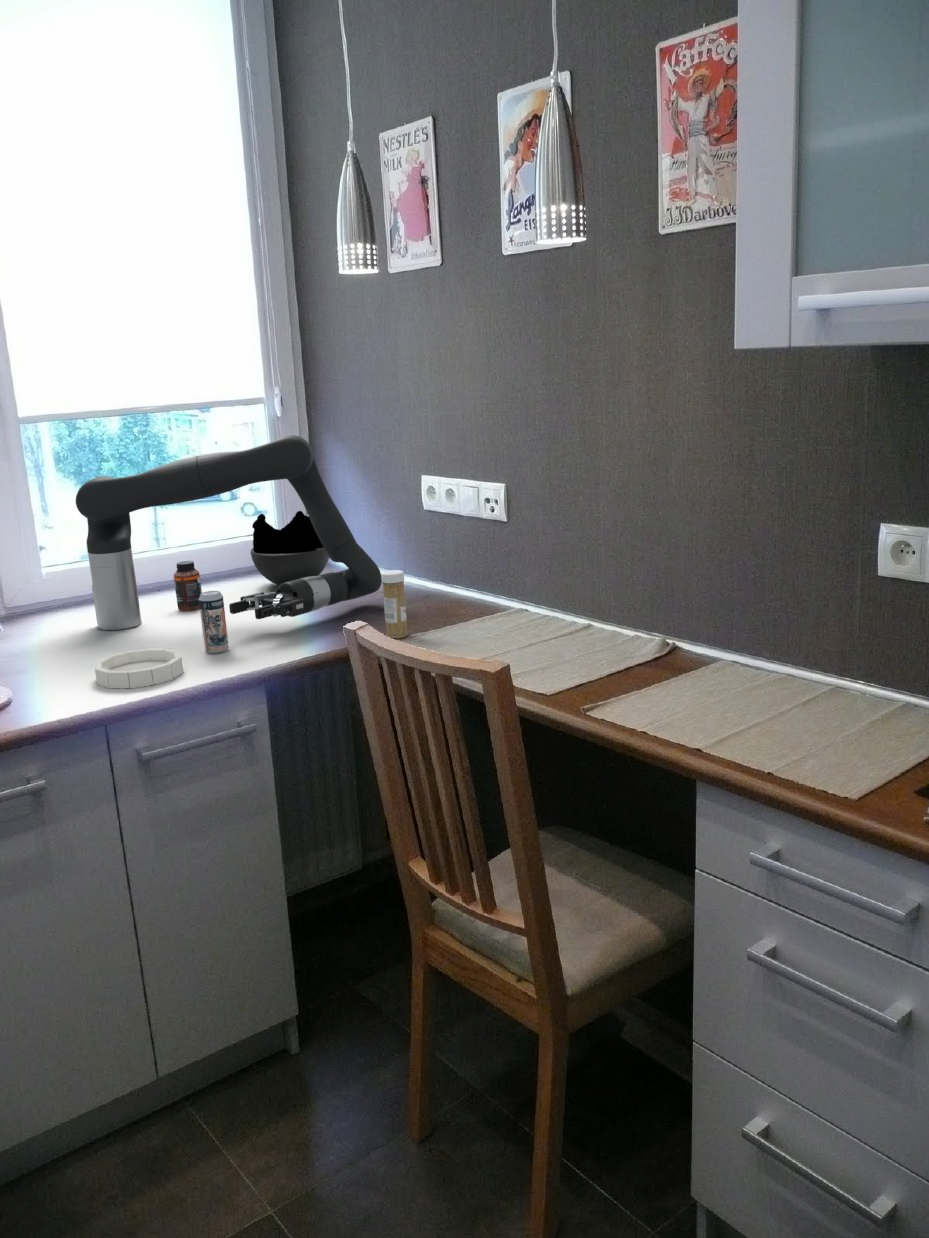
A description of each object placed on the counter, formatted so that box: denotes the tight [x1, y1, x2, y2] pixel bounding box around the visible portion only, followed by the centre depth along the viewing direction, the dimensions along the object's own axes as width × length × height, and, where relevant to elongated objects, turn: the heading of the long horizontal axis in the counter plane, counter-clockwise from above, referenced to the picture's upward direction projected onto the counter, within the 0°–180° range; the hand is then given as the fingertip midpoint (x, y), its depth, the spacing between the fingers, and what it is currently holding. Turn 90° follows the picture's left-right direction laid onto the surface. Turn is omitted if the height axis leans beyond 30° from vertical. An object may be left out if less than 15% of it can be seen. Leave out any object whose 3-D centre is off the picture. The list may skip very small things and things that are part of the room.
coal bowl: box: [250, 510, 330, 586], centre depth 261 cm, size 20×20×19 cm
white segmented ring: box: [94, 648, 184, 690], centre depth 193 cm, size 15×15×3 cm
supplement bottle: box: [173, 560, 203, 612], centre depth 243 cm, size 6×6×11 cm
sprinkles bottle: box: [381, 569, 409, 640], centre depth 209 cm, size 5×5×13 cm
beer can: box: [199, 590, 230, 655], centre depth 206 cm, size 5×5×12 cm
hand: (243, 611), depth 211 cm, fingers open, 8 cm apart
